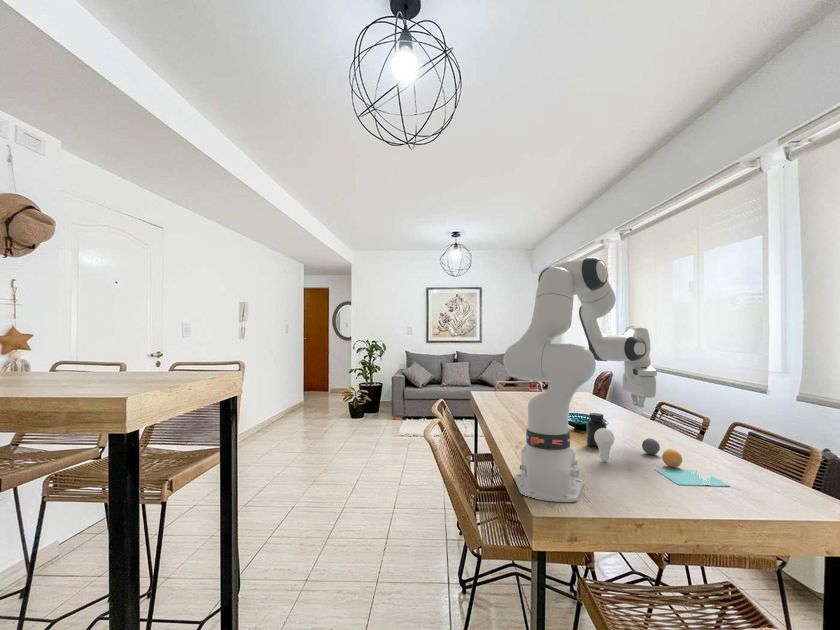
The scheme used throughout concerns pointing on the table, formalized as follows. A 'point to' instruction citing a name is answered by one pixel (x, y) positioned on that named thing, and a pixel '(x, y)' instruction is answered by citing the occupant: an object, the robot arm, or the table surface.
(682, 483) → the teal mark
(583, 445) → the table surface
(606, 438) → the lightbulb
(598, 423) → the supplement bottle
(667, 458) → the orange ball
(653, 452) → the charcoal ball
